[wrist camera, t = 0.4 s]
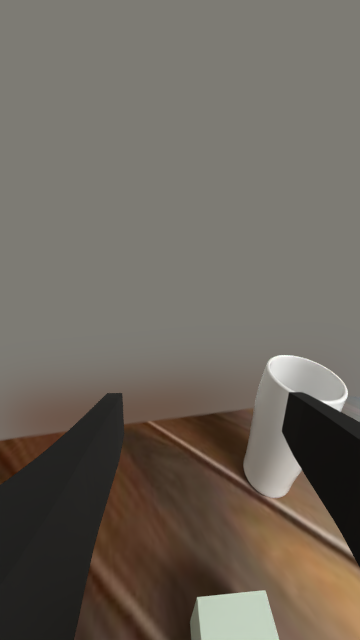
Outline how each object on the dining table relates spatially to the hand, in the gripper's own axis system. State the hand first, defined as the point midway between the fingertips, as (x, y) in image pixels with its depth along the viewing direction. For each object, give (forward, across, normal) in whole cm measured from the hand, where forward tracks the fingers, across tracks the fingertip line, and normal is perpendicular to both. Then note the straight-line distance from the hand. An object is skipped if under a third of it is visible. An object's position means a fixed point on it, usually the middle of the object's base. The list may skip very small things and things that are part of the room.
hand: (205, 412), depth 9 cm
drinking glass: (+11, -10, +18) cm, 24 cm away
